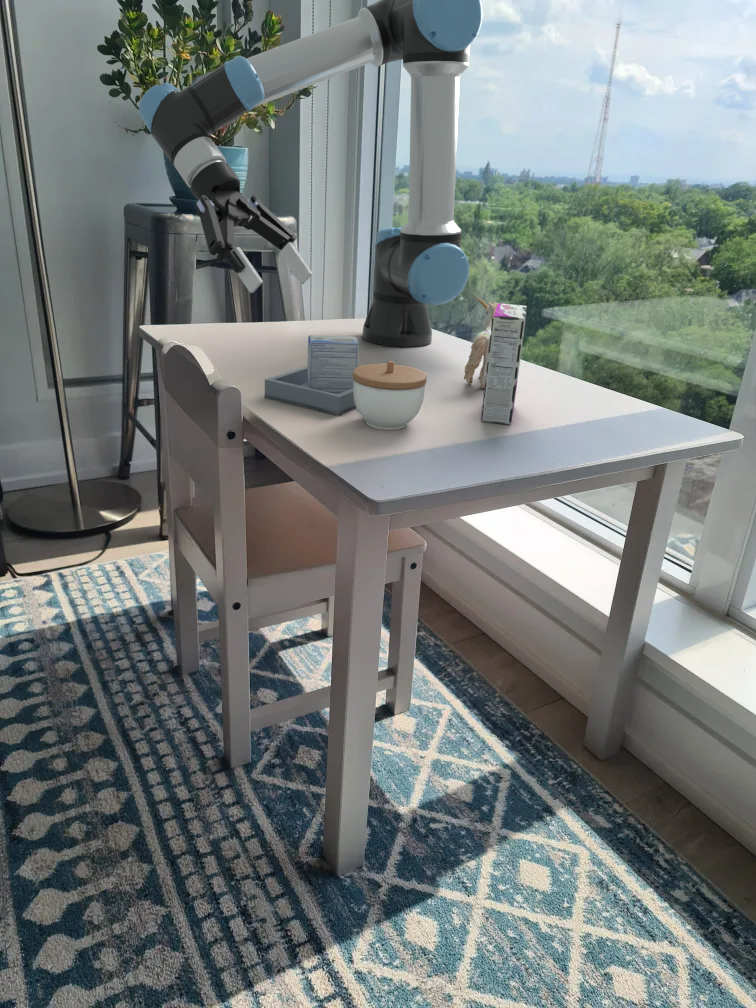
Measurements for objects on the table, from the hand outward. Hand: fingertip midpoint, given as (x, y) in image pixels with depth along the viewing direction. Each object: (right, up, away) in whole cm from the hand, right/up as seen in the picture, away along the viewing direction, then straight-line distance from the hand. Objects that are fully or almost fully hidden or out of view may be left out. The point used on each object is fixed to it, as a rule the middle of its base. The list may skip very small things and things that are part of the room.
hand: (283, 283), depth 124 cm
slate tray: (+8, -18, +2) cm, 19 cm away
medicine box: (+8, -17, +2) cm, 19 cm away
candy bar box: (+34, -21, -1) cm, 41 cm away
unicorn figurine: (+32, -13, +17) cm, 39 cm away
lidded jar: (+17, -24, -9) cm, 31 cm away
